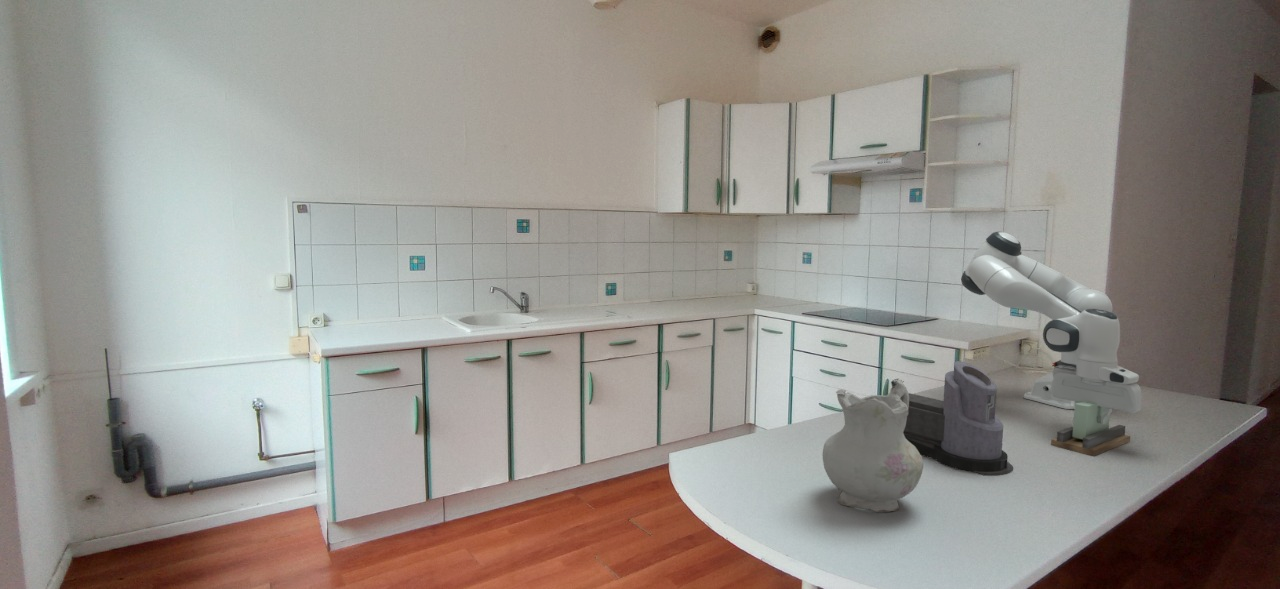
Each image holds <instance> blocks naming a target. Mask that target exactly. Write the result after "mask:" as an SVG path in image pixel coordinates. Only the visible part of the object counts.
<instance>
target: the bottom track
mask: <svg viewBox="0 0 1280 589" xmlns="http://www.w3.org/2000/svg"><path fill="white" fill-rule="evenodd" d="M1056 433H1057V434H1056V437H1055V438H1054V437H1053V438H1052V439H1051V441H1050V446H1054V447H1057V448H1062V449H1065V450H1069V451H1072V452H1076V453H1081V454H1085V455H1089V456H1092V457H1095V456H1098V455H1100V454H1102V453H1105V452H1107V451H1110V450H1112V449H1115V448H1118V447H1120V446H1122V445H1125V444H1127V443H1130V441H1131V435H1127V434H1125V433H1126V425H1123V424H1118V425H1115V426H1112V427H1109V429H1106V430H1103V431H1101V432H1098V433H1095V434H1092V435H1090V436H1087V437H1084V438H1083V439H1079V438H1075V437H1072V434H1073V426H1070V427H1067V428H1064V429H1061V430H1058V431H1057V432H1056Z"/></svg>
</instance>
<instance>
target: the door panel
mask: <svg viewBox="0 0 1280 589" xmlns="http://www.w3.org/2000/svg"><path fill="white" fill-rule="evenodd" d="M1073 410H1074V411H1073V412H1074V413H1073V422H1072V424H1073V425H1072V427H1073V434H1072V437H1075V438H1079V439H1083V438H1084V437H1087V436H1090V435H1092V434H1095V433H1098V432H1101V431H1103V430H1106V429H1109V428H1110V417H1111V416H1110V415H1111V413H1110V414H1109V415H1108V416H1107V417H1106V423H1105V424H1101V423H1097V420H1098V419H1097V416H1100V415H1101V416H1102V415H1103V414H1104V413H1105V412H1104V411H1103V407H1099V406H1097V404H1096V403H1091V402H1086V401H1083V402H1079V403H1076V404H1075V409H1073Z"/></svg>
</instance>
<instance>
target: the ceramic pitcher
mask: <svg viewBox="0 0 1280 589" xmlns="http://www.w3.org/2000/svg"><path fill="white" fill-rule="evenodd" d="M904 382H905V381H903V380H902V379H900V378H894V379H892V381H891V383H890V384H891V388H890V391H889V393H888V394H887V395H880V394H879V395H876V394H871V395H867V396H865V397H859V396H857V395H856V394H854V393H852V392H849V391H848V392H847V390H846V389H837V391H835V393H836V395H837V397H836V398H837V401H838V404H839V405H840V407H841V410H842V412H843V417H844V425H843V427H842V428H841V429H840V431H838V432H836V433H835V434H833V435H831V436H829V437H828V438H827V439H826V441H825V442H824V443H823V449H822V462H823V468H824V471H825V473H826V475H827V477H828V478H829V480H830V482H831V483H832V484H833V486H835V487H836V488H837V489H838V490H839V491H841V493H840V494H839V495H838V497H837V498H836V499H837V503H838V504H840V505H842V506H846V507H851V508H857V509H862V510H867V511H871V512H875V513H889V512H893V511H894V512H895V511H899V508H900V507H899V503H898V500H900V499H902V498H904V497H906V496H907V495H909V494H910V493H911V492H913V491H914V490H915V488H916V487H917V486H918V484H919V482H920V479H921V478H922V474H923V471H924V461H923V457H922V455H920V453H919V452H918V450H917V449H916V447H915V446H914V445H913V444H911V443H910V442H909V441H908V440H907V439H906V438H905V436H904V434H903V432H904V429H905V426H906V420H907V416H908V408H909V394H908V393H909V390H908V388H907V387H906V386H905V384H904Z"/></svg>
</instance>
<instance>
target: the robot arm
mask: <svg viewBox="0 0 1280 589" xmlns="http://www.w3.org/2000/svg"><path fill="white" fill-rule="evenodd" d="M1021 250H1022V245H1021V242H1020V241H1019V240H1018V239H1017V238H1016V237H1015V236H1013V235H1012V234H1010V233H1007V232H1003V231H995V232H992V233H991V234H990V235H989V236H987V238H986V239H985V241H984V242H983V243H982V245H980V246H979V248H978V249H977V250H976V252H975V253H974V255H973V257H972V258H971V260H970V261H969V263H968V265H967V267H966V268H965V270H964V271H963V273H962V275H961V278H960V279H961V284H962V286H963V287H964V288H965V289H966V290H968V291H969V292H971V293H973V294H976V295H979V296H983V295H984V296H985V295H986V296H987V297H988V298H989V299H991V300H992V301H994V302H995V303H997V304H999V305H1001V306H1002V307H1004V308H1010V309H1018V310H1019V309H1020V310H1027V311H1032V312H1036V313H1040V314H1042V315H1044V316H1046V317H1047V318H1049V319H1051V320H1050V321H1048V322H1047V323H1046V324H1045V326H1044V328H1043V330H1042V339H1043V341H1044V344H1045V346H1046V347H1047V348H1048V349H1049V350H1051V351H1052V352H1057V353H1060V359H1059V360H1058V361H1055V362H1052V367H1053V369H1052V371H1051V372H1048V373H1046V374H1045V375H1043V376H1041V377H1038V378H1037V379H1035V380H1034V382H1033V384H1032V388H1031V390H1030V391H1027V392H1024V394H1023V398H1024V399H1027V400H1030V401H1035V402H1038V403H1042V404H1044V405H1045V404H1046V405H1050V406H1052V407H1058V408H1062V409H1065V410H1074V409H1075V404H1076V403H1079V402H1083V401H1086V402H1091V403H1096V404H1097V406H1099V407H1103V411H1104V412H1105V413H1104V414H1103V415H1102V416H1101V415H1100V416H1097V419H1098V420H1097V423H1101V424H1105V423H1106V417H1107V416H1108V415H1109V414H1110V415H1111V413H1113V410H1114V411H1120V412H1124V413H1129V414H1136V413H1137V412H1140V411H1141V409H1142V405H1143V404H1142V401H1143V398H1142V397H1143V396H1142V389H1141V387H1140V385H1139V384H1138V381H1139V380H1140V375H1139V374H1138V373H1136V372H1134V371H1131V370H1129V369H1127V368H1124V367H1122V366H1120V365H1118V364H1119V360H1118V356H1117V354H1118V349H1119V348H1120V343H1121V342H1120V341H1121V324H1120V320H1119V317H1118V316H1117V315H1116V314H1114V313H1113V304H1112V300H1111V299H1110V297H1108V295H1107V294H1106V293H1104V292H1103V291H1100V290H1097V289H1093V288H1091V287H1089V286H1087V285H1084V284H1082V283H1080V282H1079V281H1076V280H1074V279H1072V278H1071V277H1069V276H1067V275H1065V274H1063V273H1062V272H1059V271H1058V270H1056V269H1054V268H1051V267H1050V266H1047V265H1045V263H1041V262H1039V261H1037V260H1035V259H1033V258H1032V257H1029V256H1027V255H1023V254H1022V253H1023V252H1022V251H1021Z"/></svg>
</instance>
